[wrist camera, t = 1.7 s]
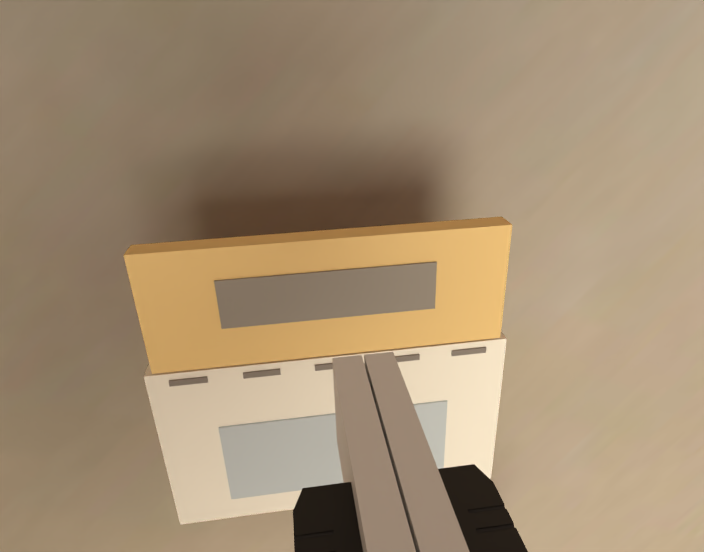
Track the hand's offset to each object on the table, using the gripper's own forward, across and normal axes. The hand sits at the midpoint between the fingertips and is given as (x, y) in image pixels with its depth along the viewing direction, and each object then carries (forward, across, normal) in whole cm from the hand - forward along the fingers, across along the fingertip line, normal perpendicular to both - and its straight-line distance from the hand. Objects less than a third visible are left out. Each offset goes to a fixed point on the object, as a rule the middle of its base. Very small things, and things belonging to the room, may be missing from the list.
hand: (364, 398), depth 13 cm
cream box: (+20, 0, -10) cm, 23 cm away
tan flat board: (+11, 0, -2) cm, 11 cm away
